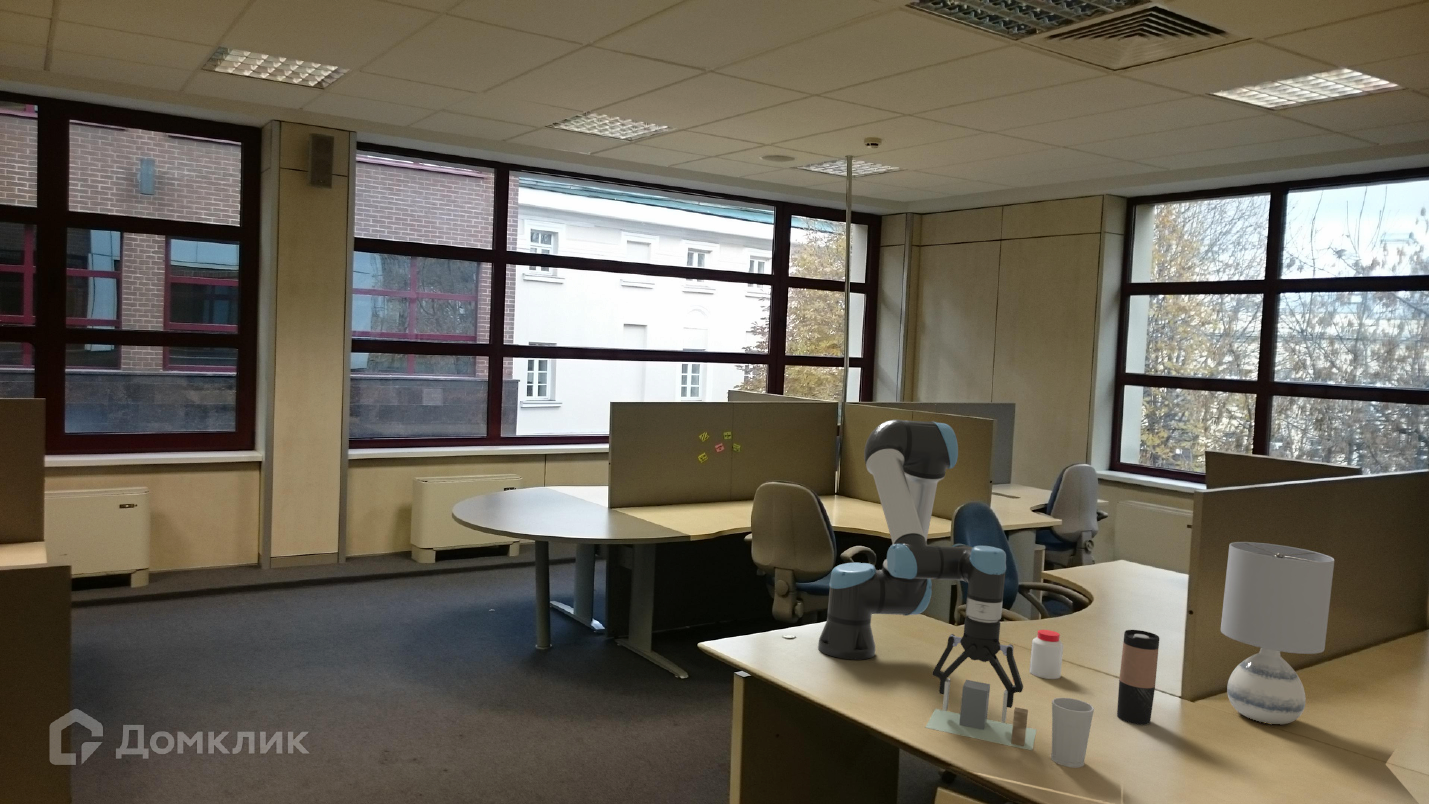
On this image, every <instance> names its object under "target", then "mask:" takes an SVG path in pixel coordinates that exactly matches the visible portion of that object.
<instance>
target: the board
mask: <svg viewBox="0 0 1429 804" xmlns="http://www.w3.org/2000/svg"><path fill="white" fill-rule="evenodd" d="M942 710H943V709H939V708H935V709H934V711H933V713H932V714H931V716H930V718H929V720H928V722H927V724H926V725H925V727H924V728H925V729H930V730H934V731H939V732H942V733H943V732H944V733H949V734H953V735H957V736H962V737H967V738H972V739H976V740H981V741H985V742H991V743H994V744H995V743H996V744H1000V745H1005V746H1010V747H1014V748H1018V749H1022V750H1029V751H1033V749H1034V743H1035V739H1036V734H1037V728H1031V727H1026V737H1025V744H1024V746H1020V745H1015V744H1011V739H1012V728H1013V723H1006V722H1005V723H1001V721H999V720H998V721H997V720H992V719H988V718H987V723H986V725H985V728H984V730H981V729H976V728H971V727H967V726H962V725H959V723H960V713H959V712H954V711H953V712H952V711H948V710H946V711H942Z"/></svg>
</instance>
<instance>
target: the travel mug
mask: <svg viewBox="0 0 1429 804" xmlns="http://www.w3.org/2000/svg"><path fill="white" fill-rule="evenodd" d="M1123 634H1124V635H1123V641H1122V651H1121V652H1122V654H1121V661H1120V669H1119V677H1118V678H1119V680H1118V681H1119V682H1118V695H1117V697H1118V698H1117V709H1116V710H1117V711H1116V717H1117V718H1118V719H1119V720H1121V721H1123V722H1126V723H1129V724H1133V725H1139V726H1146V725H1149V724H1150V723H1151V719H1152V712H1153V704H1154V696H1155V688H1156V682H1157V671H1158V670H1157V668H1158V657H1159V647H1160V636H1159V635H1157V634H1156V633H1154V632H1150V631H1145V630H1140V629H1127V630H1125V631H1124V632H1123Z"/></svg>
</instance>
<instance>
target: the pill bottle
mask: <svg viewBox="0 0 1429 804" xmlns="http://www.w3.org/2000/svg"><path fill="white" fill-rule="evenodd" d="M1060 636H1061V634H1060V633H1059V632H1057V631H1055V630H1051V629H1039V630H1037V635H1036V637H1035V636H1034V638H1033V639H1032V641H1031V651H1030V652H1031V653H1030V661H1029V662H1030V663H1029V670H1028V671H1029V673H1030V675H1033V676H1035V677H1038V678H1042V679H1047V680H1048V679H1049V680H1058V679H1060V678H1061V676H1062V674H1061V673H1062V663H1063V654H1064V643H1063V642H1062V641H1061V640H1060Z"/></svg>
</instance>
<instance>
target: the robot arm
mask: <svg viewBox="0 0 1429 804" xmlns="http://www.w3.org/2000/svg"><path fill="white" fill-rule="evenodd" d="M958 444H959V443H958V440H957V435H956V433H955V431H954V429H953V427H952V426H951V425H949V424H947V423H944V422H936V421H924V420H923V421H922V420H905V419H904V420H902V419H891V420H886V421H884V422H882V423H880V424H879V425H877V426H876V427H875V428H874V429H873V430H872V431H871V432H870V434H869V435H868V438H867V439H866V442H865V446H864V451H863V454H864V455H863V460H864V463H865V467H866V470H867V472H868V473H869V474H870V475H872V476H873V480H874V483H875V487H876V490H877V493H878V497H879V501H880V505H881V507H882V511H883V515H884V518H885V521H886V525H887V528H888V532H889V535H890V538H891V543H892V544H891V545H890V547H888V550H887V553H886V559H884V561H883V563H882V568H881V569H879V570H878V569H876V567H875V565H874V564H871V563H867V562H862V563H861V562H847V563H842V564H839V565H837V566H835V567H834V568H833V569H832V571H831V574H830V580H829V584H828V586H829V593H828V604H827V605H828V606H827V615H826V616H827V617H826V622H825V624H824V627H823V629H822V631H821V634H820V636H819V638H818V647H817V648H818V650H819V652H821V653H823V654H825V655H828V656H829V657H834V658H838V659H843V660H856V661H857V660H858V661H859V660H868V659H871V658H873V657H875V655H876V643H875V640H874V635H873V630H872V626H871V623H872V616H873V615H894V616H895V615H896V616H898V615H899V616H903V617H904V616H910V615H911V616H914V615H916V616H917V615H920V614H921V613H922V614H923V612H925V610H926V609H927V608H928V606H929V605H930V602H931V598H932V591H933V590H932V586H933V585H932V584H933V583H932V580H940V581H941V580H943V581H944V580H947V581H963V582H965V583H966V584H967V594H966V602H965V603H966V604H965V605H966V606H965V614H966V616H965V617H964V624H963V625H964V626H963V634H962V636H961V637H960V636H956V635H955V634H954V633H951V634H950V635H949V636H948V639H947V645H946V648H945V649H944V651H943V653H942V654H941V656H940V658H939V660H938V662H937V664H936V665H935V667H934V669H933V670H932V673H931V674H932V676H933V677H937V678H938V679H939V689H938V692H939V695H943V700H942V701H943V703H942V709H941V710H942V711H948V709H949V700H950V698H949V697H950V688H951V687H950V686H951V678H949V677H950V676H951V674H952V673H953V672H955V671H956V670H957V669H958V667H960V666H961V665H962V663H964V662H965V661H966V660H967V659H968V658H969V659H970V660H972V661H980V662H982V663H986V662H989V664H990V665H991V666H992V668H993V669H994V671H995V673H996V675H997V676H998V678H999V679H1000V681H1001V683H1002V685H1003V686H1004V688H1005V689H1004V692H1003V698H1002V710H1001V711H1002V712H1001V719H1000V722H1001V723H1006V720H1007V715H1008V714H1007V712H1008V708H1009V709H1011V708H1012V707H1013V704H1014V697H1015V696H1014V695H1015V693H1022V692H1023V690H1024V689H1023V688H1024V684H1023V681H1022V679H1021V675H1020V672H1019V669H1018V666H1017V663H1016V659H1015V657H1014V648H1015V647H1014V645H1013V644H1011V643H1009V644H1008V645H1007V644H1006V645H1005V644H1001V642H1000V632H1001V622H1000V620H1002V619H1001V618H1002V612H1003V611H1002V610H1003V602H1004V601H1003V599H1004V591H1005V590H1004V588H1005V582H1006V581H1005V580H1006V572H1007V563H1006V562H1007V554H1006V551H1004V549H1002V548H998V547H996V546H989V545H975V546H973V547H972V546H971V545H968V544H962V543H955V544H953V545H950V546H947V545H943V546H942V545H929V544H928V542H927V541H928V535H929V529H930V525H931V519H932V516H933V515H932V514H933V508H934V502H935V498H936V493H937V486H938V483H939V482H940V481H942V480H944V478H945V477H946V471H947V470H950V469H953V468H955V465H956V464H957V462H958V458H959V446H958ZM958 644H960V645H961V646H962V648H963V651H962V653H961V654H960V655H959V656H958V657H957V658H956V659H955V660H954V661H953V662H951V664H950V665H949V666H948V667H947V668H946V669H945V670H944V671H943V670H941V669H942V667H944V664H945V663H946V661H947V658H949V656H950V654H951V652H952V650H953V649H954V647H957V646H958ZM999 651H1001V652H1002V654H1003V656H1005V657H1006V662H1007V665H1008V668H1009V671H1010V675H1011V677H1012V680H1013V682H1012V681H1011V679H1010V678H1009V675H1008V674H1007V673H1006V670H1005V669H1004V667H1003V666H1002V664H1001V662H1000V660H999V658H998V656H997V654H999Z"/></svg>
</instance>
